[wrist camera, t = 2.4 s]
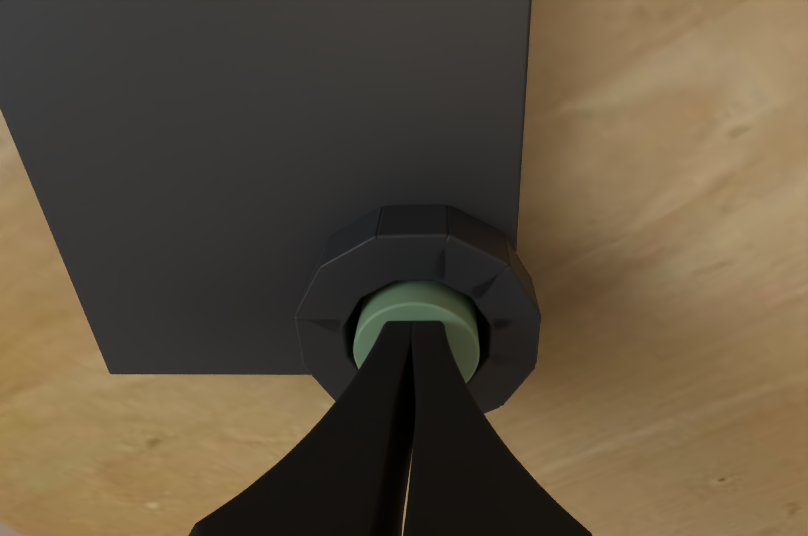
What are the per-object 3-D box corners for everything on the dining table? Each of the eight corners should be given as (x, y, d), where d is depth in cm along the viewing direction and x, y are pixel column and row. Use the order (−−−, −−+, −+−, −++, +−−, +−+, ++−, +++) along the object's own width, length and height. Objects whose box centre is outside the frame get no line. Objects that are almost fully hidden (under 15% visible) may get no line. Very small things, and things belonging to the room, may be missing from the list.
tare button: (475, 362, 15) (478, 402, 14) (365, 362, 15) (358, 402, 14) (477, 267, 14) (481, 302, 12) (355, 268, 14) (346, 303, 13)
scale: (517, 356, 18) (530, 429, 15) (135, 356, 18) (85, 425, 16) (562, -263, 10) (603, -329, 8) (-79, -212, 11) (-236, -256, 8)
